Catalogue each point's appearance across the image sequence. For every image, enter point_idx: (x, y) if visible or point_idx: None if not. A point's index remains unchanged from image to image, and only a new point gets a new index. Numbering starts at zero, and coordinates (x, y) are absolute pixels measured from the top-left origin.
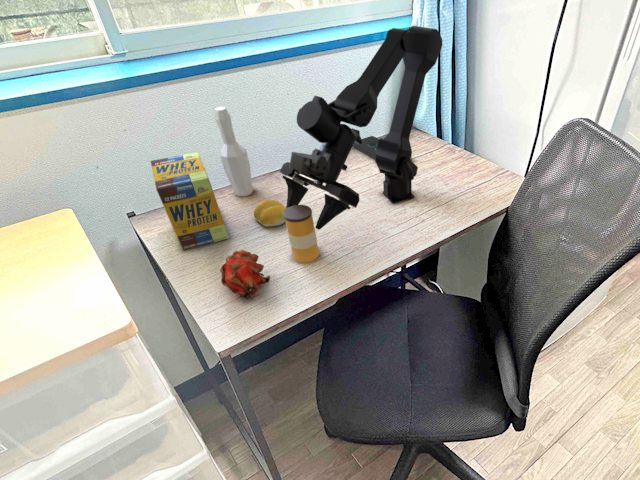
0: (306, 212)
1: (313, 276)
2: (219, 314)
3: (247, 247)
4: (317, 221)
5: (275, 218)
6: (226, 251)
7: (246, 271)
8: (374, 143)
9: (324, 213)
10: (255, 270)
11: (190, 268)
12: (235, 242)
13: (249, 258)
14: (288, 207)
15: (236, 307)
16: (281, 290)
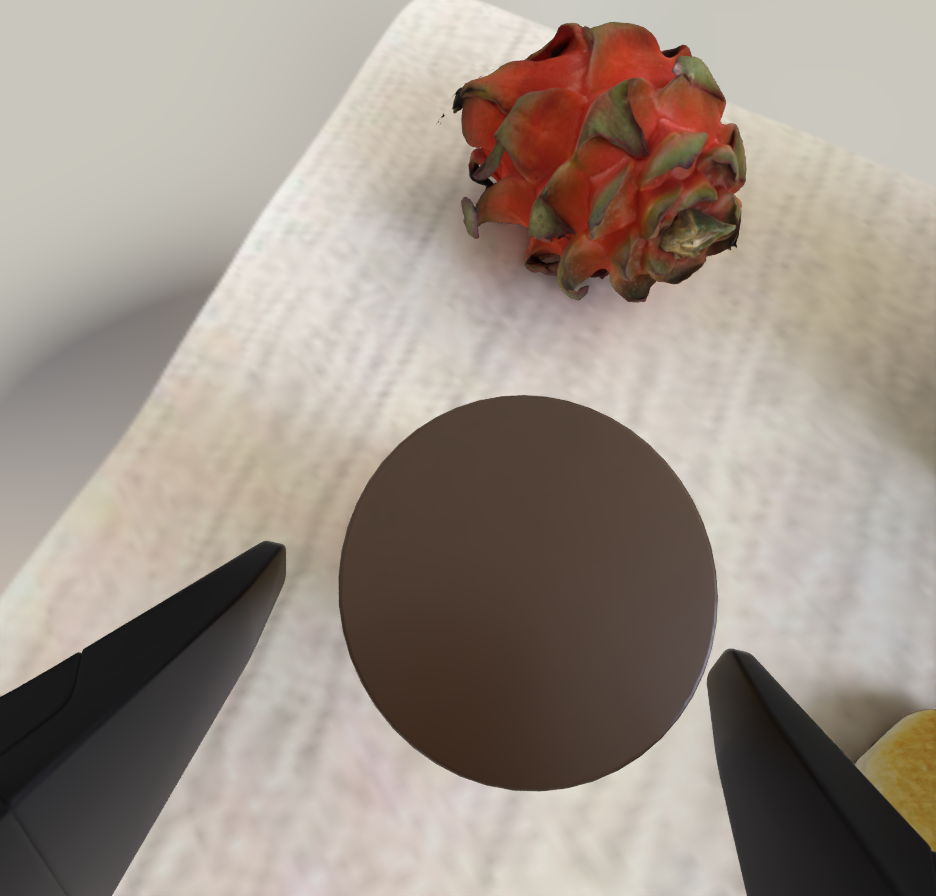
0: (410, 617)
1: (330, 425)
2: None
3: (822, 485)
4: (244, 581)
5: (908, 787)
6: (884, 410)
7: (541, 87)
8: None
9: (74, 660)
10: (506, 119)
11: (904, 245)
12: (916, 495)
13: (590, 126)
14: (768, 702)
15: None
16: (420, 281)
